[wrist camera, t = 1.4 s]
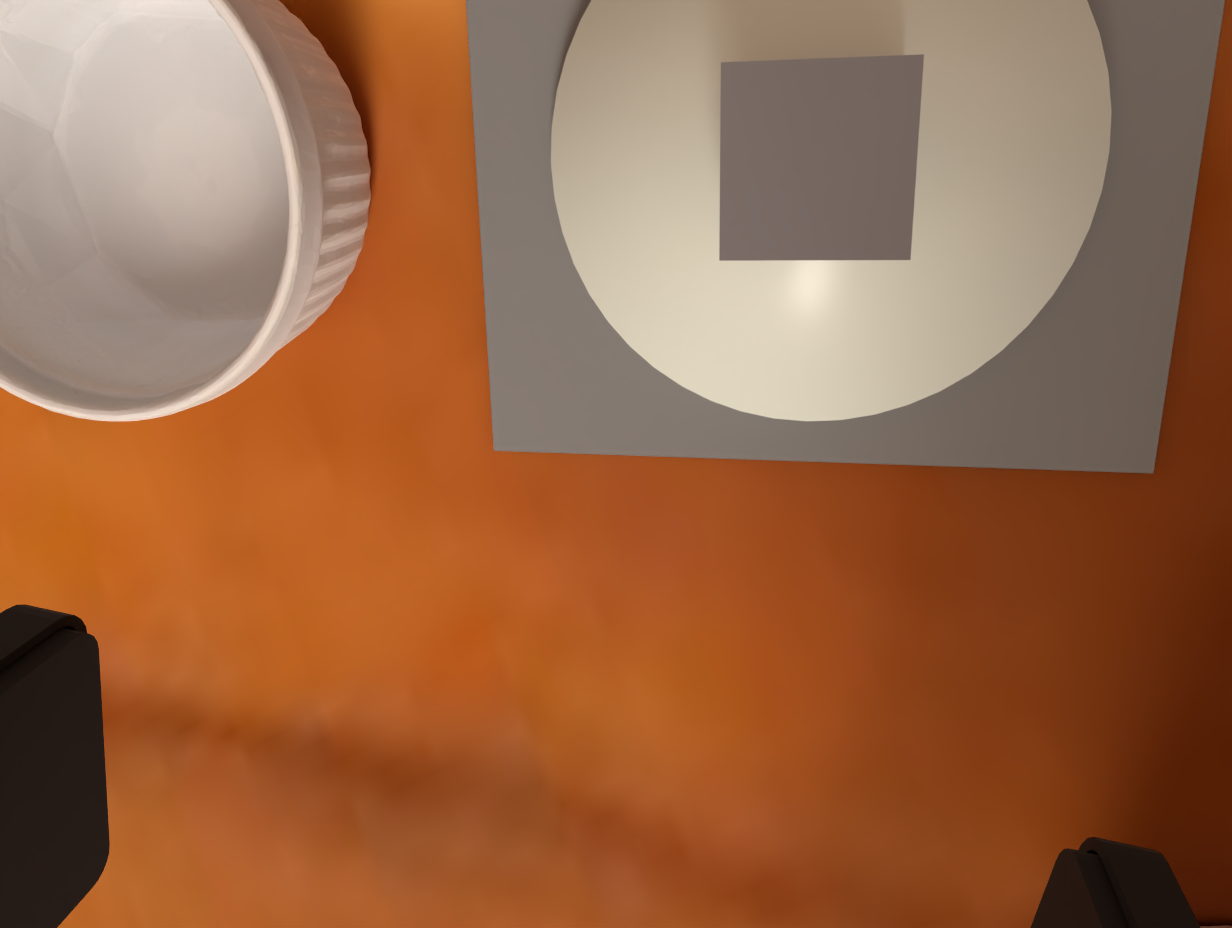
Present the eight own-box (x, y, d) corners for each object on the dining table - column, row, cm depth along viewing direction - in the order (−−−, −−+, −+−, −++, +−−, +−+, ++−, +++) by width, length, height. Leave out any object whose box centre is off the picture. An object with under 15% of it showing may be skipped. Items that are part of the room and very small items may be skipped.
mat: (1255, -244, 24) (1263, -250, 24) (1149, 469, 30) (1153, 473, 29) (459, -177, 28) (454, -182, 27) (497, 447, 33) (493, 450, 33)
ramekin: (37, 332, 35) (-139, 376, 29) (15, -87, 31) (-199, -147, 24) (393, 402, 33) (292, 466, 27) (424, -30, 29) (312, -78, 23)
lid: (1139, -170, 24) (1232, -257, 19) (1068, 420, 29) (1127, 485, 24) (545, -125, 27) (479, -189, 22) (567, 408, 32) (516, 464, 26)
